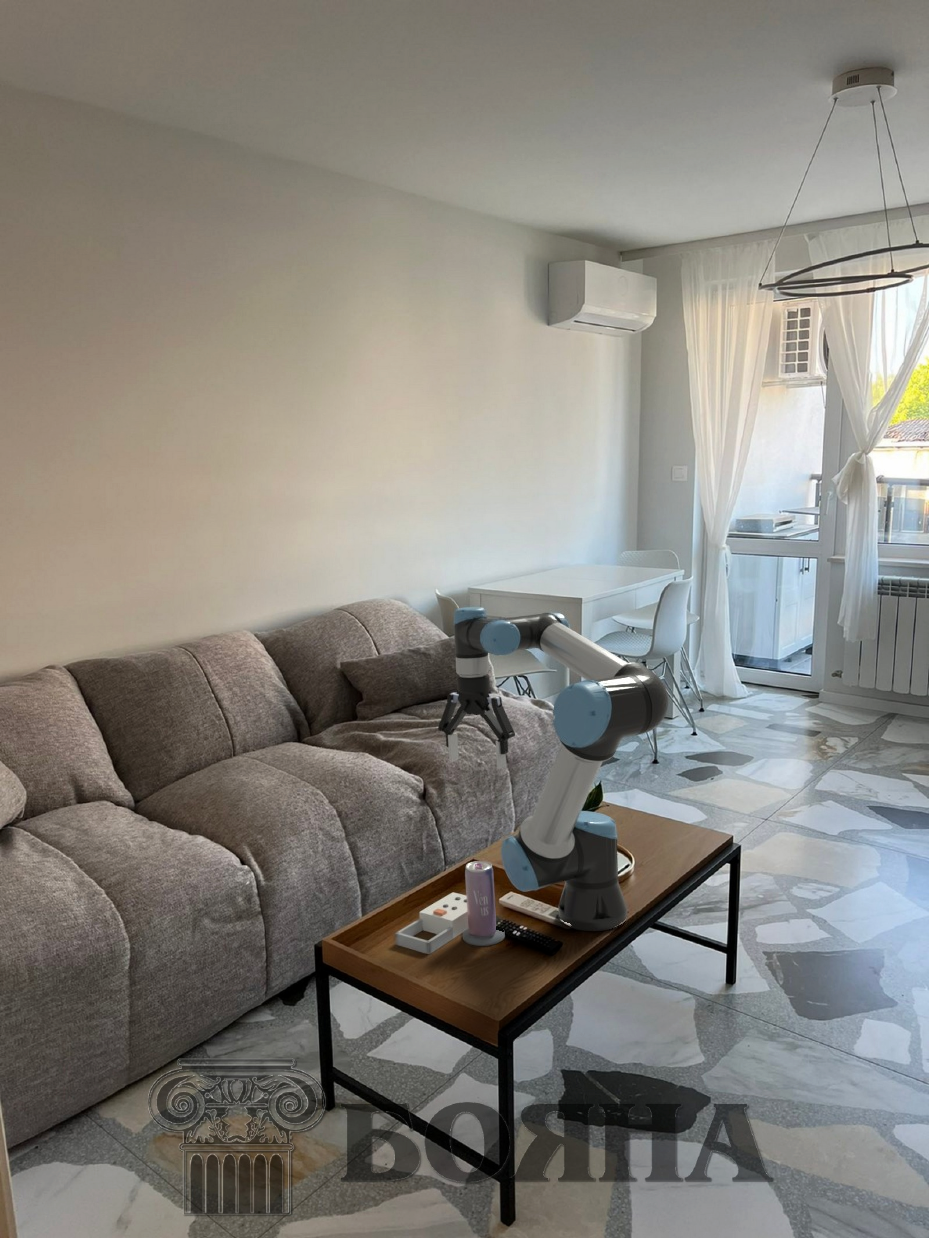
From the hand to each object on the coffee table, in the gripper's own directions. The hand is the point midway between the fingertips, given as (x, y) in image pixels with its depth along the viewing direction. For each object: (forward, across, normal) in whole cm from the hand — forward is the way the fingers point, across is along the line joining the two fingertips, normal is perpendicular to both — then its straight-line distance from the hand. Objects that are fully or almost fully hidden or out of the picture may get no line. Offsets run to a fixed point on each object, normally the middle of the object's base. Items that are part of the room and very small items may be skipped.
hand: (477, 764), depth 219 cm
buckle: (+32, -3, +17) cm, 36 cm away
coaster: (+32, -12, +18) cm, 39 cm away
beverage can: (+31, -12, +18) cm, 38 cm away
